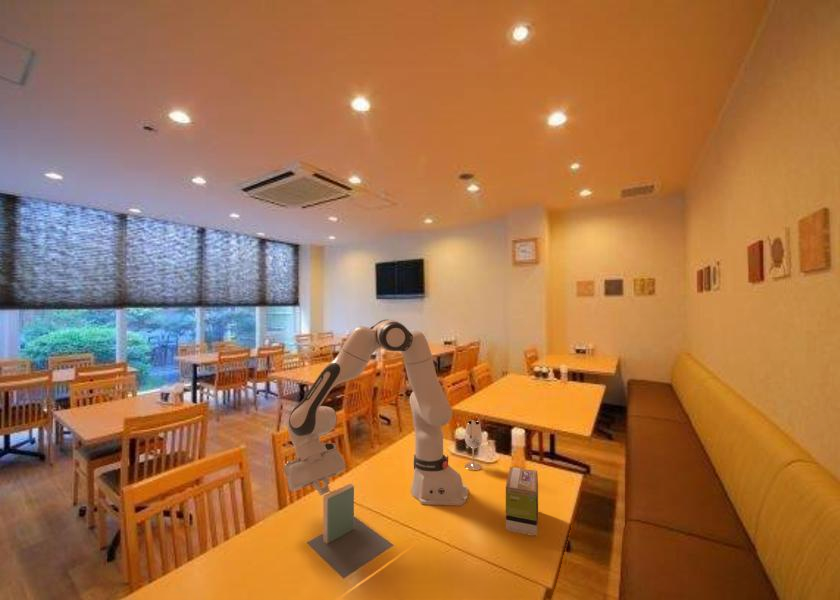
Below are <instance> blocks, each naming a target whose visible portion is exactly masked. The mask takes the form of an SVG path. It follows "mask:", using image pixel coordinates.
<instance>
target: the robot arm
mask: <svg viewBox="0 0 840 600" xmlns="http://www.w3.org/2000/svg"><path fill="white" fill-rule="evenodd" d="M380 348H383V349H385V350H386V351H389V352H400V353H401V355H402V359H403V363H404V368H405V371H406V375H407V380H408V382H409V385H410V387H411V389H412V392H411V393H410V396H409V399H408V400H409V404H410V408H411V409H410V410H411V415H412V417H411V418H412V422H413V428H414V443H415V444H414V448H415V449H414V455H413V470H414V471H413V479H412V484H411V487H410V494H411V496H413V497H414V498H415V499H417V500H418V501H419V503H420V504H422V505H429V506H430V505H433V506H434V505H436V506H437V505H439V506H462V505H464V504H466V502H467V501H468V498H469V489H468V486H467V485H466V484H465V483H463V479H462V476H461V474H460V473H459V472H458V471H457V470H455V469H454V468H453V467H452V466H450V464H449V456H448V455H447V456H445V454H444V434H443V431H442V427H444V426H446V425H447V424H448V423H449V422H450V421H451V418H452V415H453V413H452V407H451V406H450V404H449V402H448V400H447V397H446V395H445V392H444V389H443V388H442V385H441V383H440V380H439V379H438V376H437V372H436V367H435V363H434V360H433V356H432V352H431V349H430V346H429V343H428V340H427V338H426V336H425V335H424V333H423V332H422V331H418V330H410V331H409V329H408V328H407V327H406V326H405V325H404V324H403V323H401V322H399V321H397V320H394V319H383V320H381V321H378V322H377V323H376V324H374V325H372V326H371V327H368V326H364V325H363V326H362V325H361V326H360V325H359V326H357V327H355V329H353V331H351V333H350V334H349V336H348V337H347V338H346V341H345V342H344V343H343V345H342V347H341V349H340V351H339V352H338V353H337V355H336V356H335V358H334V359H333V360H332V361H331V362H330V363H329V364H328V365H327V366H325V367H324V369H322V371H320V374H319V375H318V376H317V378H316V379H315V381H314V382H313V384H312V385H311V387H310V389H309V390H308V391H307V393H306V394H305V396H304V397H303V398H302V400H301V401H300V402H298V403H297V404H296V406H295V407H294V408H293V409H292V410H291V412H290V414H289V417H288V419H287V422H286V423H287V424H286V425H287V431H288V435H289V438H290V440H291V443H292V444H293V446H294V451H295V455H296V459H293V460H292V461H291V460H290V461H287V462H286V463H285V465H284V466H283V472H284V474H285V476H286V481H287V486H288V489H289V491H291V492H292V493H293V492H296V491H298V490H301V489H304V488H306V487H308V486H311V485H312V487H313V489H315V490H316V491H317V492H318V495H319V496H324V495H326V494H328V493H330V492H331V491H330V486H329V482H330V478H332V477H334V476H336V475H339V474H341V473H343V472H344V471H345V470H346V462H345V459H344V458H343V456H342V454H341V453H340V451H339V450H337V444H336V443H334V442H321V440H320V438H321V437H323V436H325V435H327V434H329V433H330V432H332V431H333V430H334V429H335V427H336V426H337V422H338V415H337V413H336V411H335V410H334V408H332V406H331V407H330V406H325V405H322V404H323V402H325V399H326V398H327V396H329V393H330V392H331V390H332V389H333V388H334V387H335V386H337V385H339V384H341V383H343V382H344V383H345V382H348V381H350V380H353V379H357V378H358V377H360V376H361V375H362V373H364V371H365V370H366V367H367V365H368V363H369V361H370V359H371V358H372V355H373V354H374V352H375V351H376V350H377V349H380ZM320 482H322V483H323V484H324V486H321V485H320Z"/></svg>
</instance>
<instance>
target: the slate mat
mask: <svg viewBox="0 0 840 600" xmlns="http://www.w3.org/2000/svg"><path fill="white" fill-rule="evenodd" d="M306 544H307V545H308V546H309V547H310V548H311V549H313V550H314V551H315V552H316V553H317V554H318V556H319V557H321V558H322V559H323V560H324V561H325V562H326V563H327V564H328V565H329V566H330V567H331V568H332V569H333V570H334V571H335V572H336V573H338V575H339V576H340V577H341V578H343V579H345V578H347V577H348V576H349V575H351V574H352V573H355V571H357V570H359V569H360V568H361V567H363V566H365V565H366V564H368V563H370V562H371V561H373V560H374V559H375V558H377V557H378V556H380V555H381V554H383V553H384V552H386V551H387V550H389V549H390V548H391V547H393V546H394V544H393V543H391V542H390V541H389V540H387V539H386V538H385V537H384V536H382V535H380V534H379V533H378V532H377V531H375V530H374V529H373V528H371V527H370V526H369V525H367V524H365V523H364V522H363V521H362V520H361V519H359V518H357V517H356V516H354V529H353V530H351V531H349V532H347V533H345V534H344V535H342V536H340V537H338V538H336V539H335V540H333V541H331V542H329V543H327V544H326V543H325V542H324V541H323V533H321V534H320V535H318V536H316V537H314V538H313V539H310V540H309V541H306Z"/></svg>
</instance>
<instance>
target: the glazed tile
mask: <svg viewBox="0 0 840 600" xmlns="http://www.w3.org/2000/svg"><path fill="white" fill-rule="evenodd" d="M322 497H323V499H322V500H323V503H322V504H323V519H322V521H323V523H322V525H323V527H322V528H323V529H322V530H323V531H322V532H323V533H322V534H323V541H324V542H325V543H326V544H327V543H329V542H331V541H333V540H335V539H336V538H338V537H340V536H342V535H344V534H345V533H347V532H349V531H351V530H353V529H354V517H355V486H354V485H353V484H351V483H348V484H346V485H344V486H342V487H340V488H337V489H335V490H333V491H329V492H328V493H325V494H323V495H322Z"/></svg>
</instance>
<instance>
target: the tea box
mask: <svg viewBox="0 0 840 600" xmlns="http://www.w3.org/2000/svg"><path fill="white" fill-rule="evenodd" d="M538 477H539V475H538V470H534V469H529V468H528V469H526V468H521V467H520V468H519V467H512V466H509V471H508V475H507V480H506V484H505V530H506V531H508V530H509V532H514V531H515V532H514V533H517V532H519V533H518V534H522V533H525V534H524V535H527V534H530V535H529V536H532V535H536V536H535V537H538V524H539V523H538V522H539V478H538Z"/></svg>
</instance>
